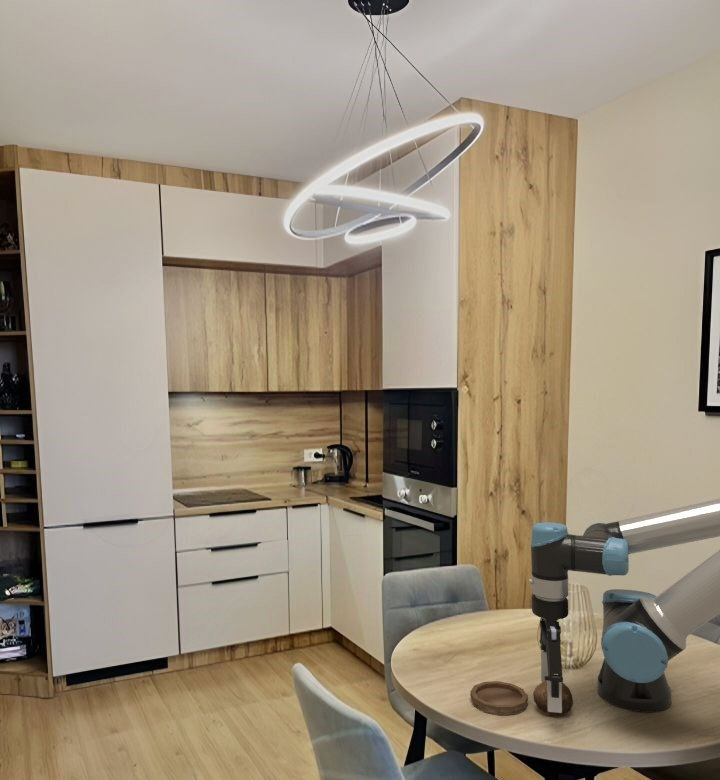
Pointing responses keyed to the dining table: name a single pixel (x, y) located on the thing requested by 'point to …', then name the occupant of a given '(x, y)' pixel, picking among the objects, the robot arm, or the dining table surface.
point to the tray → (499, 698)
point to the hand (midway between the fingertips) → (550, 695)
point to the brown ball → (542, 700)
